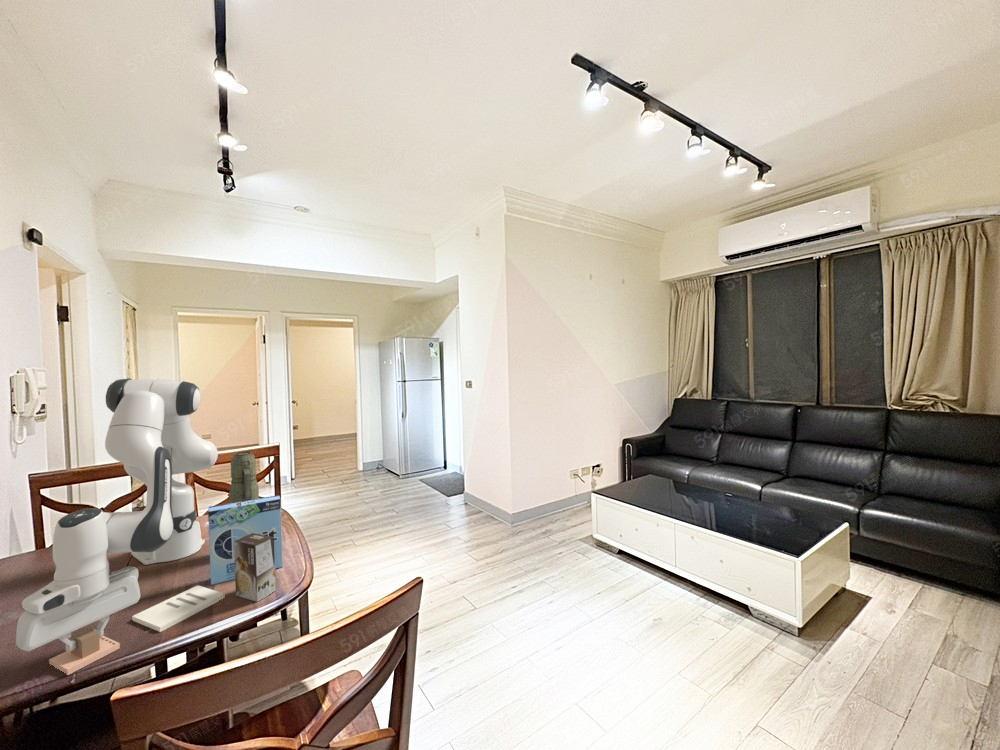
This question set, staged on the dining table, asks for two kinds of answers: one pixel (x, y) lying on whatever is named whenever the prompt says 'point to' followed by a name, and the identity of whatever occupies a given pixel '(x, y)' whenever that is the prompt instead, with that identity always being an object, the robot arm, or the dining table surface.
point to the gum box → (241, 532)
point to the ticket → (177, 608)
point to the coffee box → (254, 566)
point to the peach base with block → (84, 651)
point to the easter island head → (243, 478)
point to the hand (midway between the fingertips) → (85, 643)
